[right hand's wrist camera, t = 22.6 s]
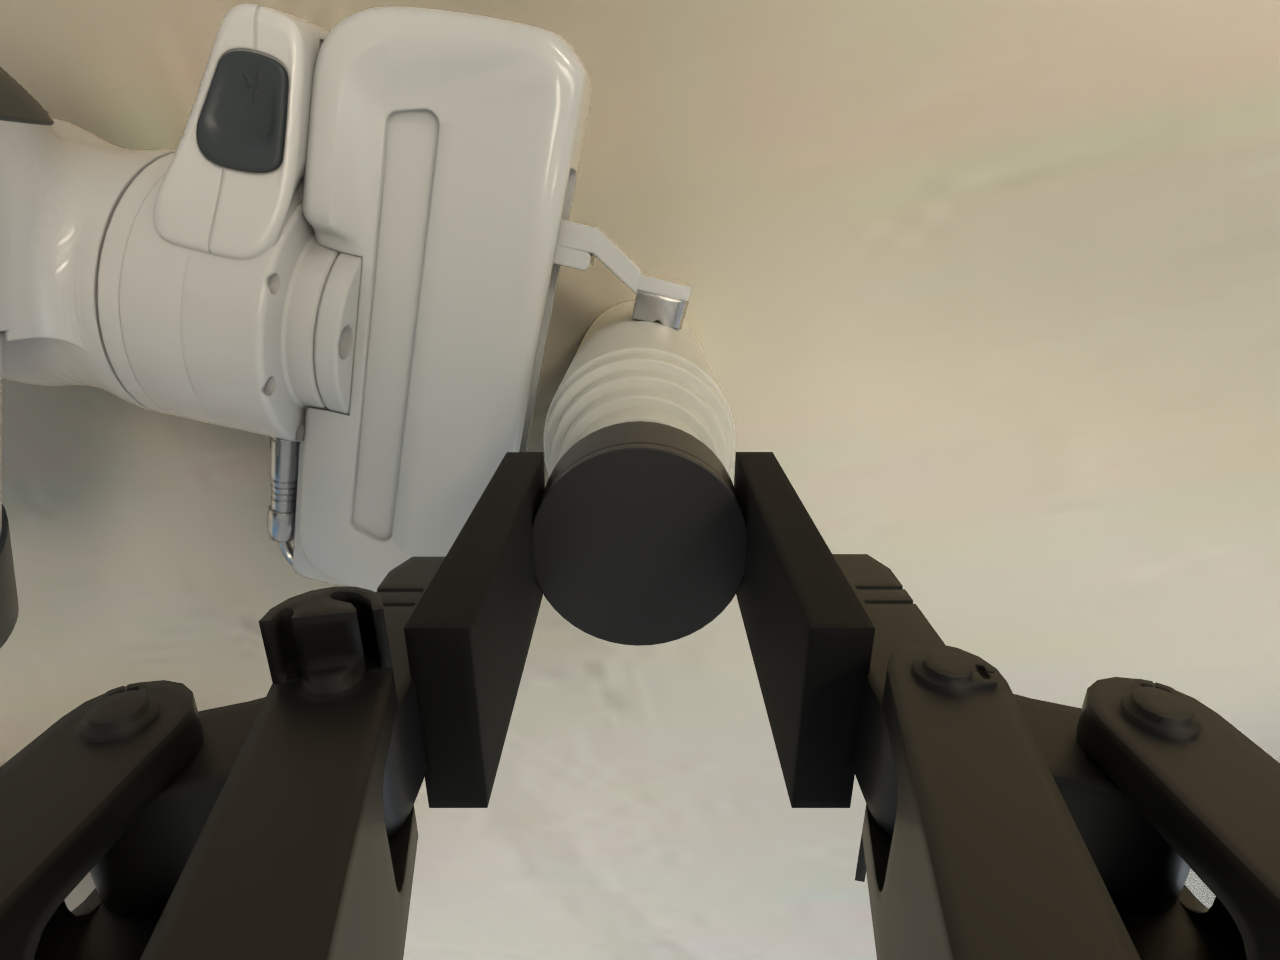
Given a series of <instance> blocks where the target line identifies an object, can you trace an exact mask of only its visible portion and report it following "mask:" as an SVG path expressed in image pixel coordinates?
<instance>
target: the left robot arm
mask: <svg viewBox="0 0 1280 960" xmlns="http://www.w3.org/2000/svg"><path fill="white" fill-rule="evenodd" d="M591 97H592V85H591V81H590V78H589V75H588V73H587V70H586V68H585V66H584V64H583V63H582V61H581V59H580V58H579V56H578V54H577V53H576V51H575V50H574V49H573V47H572V46H571V45H570V43H569V42H568V41H567V40H566V39H564V38H563V37H562V36H560V35H558V34H557V33H554V32H551V31H549V30H546V29H542V28H539V27H535V26H532V25H528V24H523V23H518V22H514V21H509V20H504V19H500V18H494V17H488V16H483V15H477V14H471V13H463V12H456V11H449V10H440V9H429V8H419V7H405V6H383V7H373V8H368V9H364V10H361V11H358V12H355V13H353V14H351V15H349V16H347V17H345V18H344V19H342V20H341V21H340V22H339V23H337V24H336V25H335V26H334V27H333V28H332V29H331V31H330V32H329V31H327V30H325V29H323V28H322V27H320V26H318V25H316V24H314V23H312V22H309V21H307V20H305V19H302V18H300V17H297V16H295V15H292V14H289V13H286V12H282V11H279V10H276V9H273V8H269V7H265V6H261V5H257V4H249V3H244V4H238V5H236V6H234V7H233V8H231V9H230V10H229V11H228V13H227V14H226V16H225V17H224V19H223V21H222V23H221V25H220V27H219V30H218V33H217V36H216V38H215V41H214V45H213V48H212V51H211V54H210V57H209V60H208V63H207V67H206V70H205V73H204V76H203V79H202V82H201V85H200V88H199V91H198V94H197V97H196V99H195V102H194V105H193V108H192V111H191V114H190V116H189V119H188V122H187V124H186V127H185V130H184V132H183V135H182V137H181V140H180V142H179V145H178V147H177V149H153V150H131V149H126V148H122V147H118V146H116V145H113V144H110V143H108V142H106V141H105V140H103V139H101V138H99V137H97V136H96V135H94V134H92V133H90V132H88V131H86V130H84V129H82V128H80V127H78V126H76V125H73V124H71V123H68V122H65V121H63V120H60V119H56V118H52V117H50V116H49V115H48V113H47V112H46V111H45V110H44V109H43V108H42V106H41V105H40V104H39V103H38V102H37V101H36V100H35V99H34V98H33V97H32V96H31V95H30V94H29V93H28V92H27V91H26V90H25V89H24V88H23V87H22V86H21V85H20V84H19V83H18V82H17V81H16V80H14V79H13V78H12V77H11V76H10V75H9V74H8V73H6V72H5V71H4V70H3V69H2V68H1V67H0V648H1V647H2V646H3V645H4V643H5V642H6V640H7V639H8V638H9V636H10V634H11V633H12V631H13V629H14V626H15V624H16V621H17V617H18V598H17V590H16V581H15V573H14V565H13V557H12V549H11V541H10V532H9V524H8V519H7V515H6V511H5V508H4V506H3V504H2V391H1V378H2V379H6V380H10V381H15V382H20V383H26V384H33V385H40V386H68V385H88V386H93V387H97V388H100V389H103V390H106V391H108V392H110V393H112V394H114V395H115V396H117V397H119V398H121V399H123V400H125V401H127V402H129V403H131V404H133V405H136V406H138V407H141V408H144V409H148V410H151V411H155V412H159V413H164V414H169V415H173V416H178V417H182V418H187V419H191V420H196V421H201V422H205V423H210V424H215V425H219V426H224V427H229V428H234V429H238V430H243V431H248V432H252V433H257V434H261V435H266V436H271V439H270V482H271V505H270V506H269V508H268V515H267V526H268V532H269V536H270V538H271V539H272V540H274V541H277V542H278V543H279V547H280V550H281V552H282V554H283V555H284V557H285V558H286V560H287V561H288V562H289V563H290V564H291V565H292V566H293V569H294V570H295V572H296V573H298V574H300V575H302V576H304V577H306V578H309V579H313V580H318V581H323V582H328V583H333V584H337V585H343V586H348V587H359V588H364V589H368V590H372V591H373V592H377V588H378V586H379V585H380V584H381V582H382V581H383V580H384V578H385V577H386V575H387V574H388V573H389V571H391V570H392V569H394V568H395V567H397V566H399V565H400V564H402V563H403V562H405V561H406V560H408V559H409V558H411V557H446V555H447V553H448V552H449V550H450V548H451V547H452V545H453V543H454V541H455V540H456V538H457V536H458V535H459V533H460V531H461V530H462V528H463V526H464V524H465V523H466V521H467V519H468V518H469V516H470V514H471V512H472V511H473V509H474V507H475V506H476V504H477V502H478V500H479V499H480V497H481V495H482V494H483V492H484V490H485V488H486V487H487V485H488V483H489V482H490V480H491V478H492V477H493V475H494V473H495V471H496V470H497V468H498V466H499V465H500V463H501V461H502V459H503V458H504V456H505V454H506V453H507V452H526V450H527V445H528V439H529V434H530V429H531V423H532V418H533V412H534V407H535V401H536V396H537V390H538V385H539V380H540V374H541V369H542V363H543V358H544V352H545V347H546V342H547V336H548V331H549V325H550V320H551V314H552V309H553V304H554V298H555V293H556V287H557V282H558V276H559V271H560V266H561V265H562V266H567V267H571V268H575V269H580V270H584V271H585V270H586V269H588V268H589V267H590V266H592V265H593V261H594V257H595V256H596V257H597V258H598V259H599V260H600V261H601V262H602V263H603V264H605V265H606V266H607V267H608V268H609V269H610V270H611V271H612V272H613V273H614V274H615V275H616V276H617V277H618V278H619V279H620V280H621V281H623V282H624V283H625V284H626V285H627V286H628V287H629V288H630V289H631V290H632V291H633V292H634V293H635V294H636V298H635V303H634V308H633V313H632V318H633V319H637V320H641V321H645V322H654V321H656V320H659V321H660V322H661V324H662V325H665V326H668V327H670V328H675V329H681V328H682V324H683V321H684V317H685V313H686V310H687V306H688V302H689V298H690V294H691V290H692V286H691V285H690V284H687V283H684V282H681V281H678V280H674V279H669V278H665V277H661V276H657V275H653V274H649V273H645V272H642V268H641V267H640V266H639V265H638V264H637V263H636V262H635V261H634V260H633V259H632V258H631V257H630V256H629V255H628V254H627V253H626V252H625V251H624V250H623V249H622V248H621V247H620V246H619V245H618V244H617V243H616V242H615V241H613V240H612V239H611V238H610V237H609V236H608V235H607V234H606V233H605V232H604V231H603V230H602V229H601V228H598V227H594V226H590V225H586V224H582V223H578V222H574V221H570V220H569V217H570V211H571V206H572V200H573V195H574V189H575V184H576V179H577V173H578V168H579V162H580V157H581V151H582V146H583V141H584V135H585V130H586V124H587V119H588V113H589V108H590V102H591ZM544 475H545V487H546V484H547V482H548V479H549V475H548V472H547V469H546V463H544ZM292 540H294V547H293V549H292V546H291V544H290V541H292Z"/></svg>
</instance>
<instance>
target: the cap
mask: <svg viewBox="0 0 1280 960" xmlns="http://www.w3.org/2000/svg"><path fill="white" fill-rule="evenodd" d="M532 536H533V552H534V568H535V577H536V580H537V582H538V585H539V587H540V589H541V590H542V592H543V594H544V595H545V597H546V599H547V600H548V601H549V603H550V604H551V605H552V606H553V608H554V609H555V610H556V611H557V612H558V613H559V614H560V615H561V616H562V617H563V618H564V619H566V620H567V621H568V622H570V623H571V624H572V625H574V626H575V627H577V628H579V629H580V630H582V631H584V632H585V633H588V634H590V635H592V636H594V637H597V638H599V639H603V640H606V641H609V642H614V643H619V644H625V645H654V644H660V643H666V642H670V641H673V640H677V639H680V638H682V637H685V636H687V635H690V634H692V633H694V632H695V631H697V630H699V629H701V628H703V627H704V626H705V625H707V624H708V623H710V622H711V621H712V620H714V619H715V618H716V617H717V616H718V615H719V614H720V613H721V612H722V611H723V610H724V609H725V608H726V607H727V605H728V604H729V603H730V602H731V600H732V599H733V597H734V596H735V594H736V593H737V591H738V589H739V587H740V585H741V583H742V581H743V578H744V571H745V555H746V539H747V524H746V520H745V517H744V514H743V511H742V508H741V505H740V503H739V500H738V497H737V494H736V492H735V489H734V486H733V483H732V481H731V479H730V476H729V474H728V472H727V470H726V469H725V467H724V465H723V464H722V462H721V461H720V459H719V458H718V457H717V456H716V455H715V454H714V452H713V451H712V450H711V449H709V448H708V447H707V446H706V445H705V444H704V443H703V442H701V441H700V440H698V439H697V438H695V437H694V436H693V435H691V434H689V433H687V432H685V431H683V430H681V429H678V428H675V427H672V426H669V425H665V424H661V423H656V422H645V421H635V422H624V423H618V424H614V425H610V426H607V427H604V428H601V429H599V430H597V431H595V432H592V433H590V434H589V435H587V436H585V437H584V438H582V439H581V440H579V441H578V442H577V443H576V444H574V445H573V446H572V447H571V448H570V449H569V450H568V451H567V452H566V453H565V454H564V455H563V456H562V457H561V458H560V460H559V461H558V463H557V464H556V466H555V467H554V469H553V471H552V473H551V475H550V477H549V479H548V482H547V484H546V487H545V490H544V493H543V495H542V498H541V501H540V504H539V506H538V509H537V512H536V515H535V518H534V521H533V524H532Z"/></svg>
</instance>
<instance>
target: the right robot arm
mask: <svg viewBox="0 0 1280 960" xmlns="http://www.w3.org/2000/svg"><path fill="white" fill-rule="evenodd" d="M734 489H735V492H736V494H737V497H738V500H739V503H740V505H741V508H742V511H743V514H744V517H745V520H746V524H747V539H746V555H745V571H744V578H743V581H742V583H741V585H740V587H739V589H738V591H737V593H736V595H737V599H738V603H739V607H740V611H741V614H742V618H743V622H744V626H745V630H746V634H747V637H748V641H749V645H750V649H751V653H752V657H753V660H754V664H755V668H756V672H757V676H758V680H759V683H760V687H761V691H762V695H763V699H764V703H765V706H766V710H767V714H768V718H769V722H770V726H771V729H772V733H773V737H774V741H775V745H776V749H777V753H778V756H779V760H780V764H781V768H782V772H783V776H784V779H785V783H786V787H787V791H788V795H789V799H790V802H791V806H792V808H850V804H851V797H852V790H853V782H854V775H856V778H857V780H858V783H859V785H860V788H861V791H862V793H863V796H864V798H865V801H866V803H867V804H866V810H865V817H864V823H863V830H862V837H861V843H860V850H859V856H858V863H857V870H856V877H855V880H857V881H863V882H864V881H865V875H866V872H867V880H868V888H869V896H870V904H871V912H872V921H873V929H874V937H875V945H876V953H877V960H1280V763H1278V762H1277V761H1276V760H1275V759H1273V758H1272V757H1271V756H1270V755H1269V754H1267V753H1266V752H1265V751H1264V750H1262V749H1261V748H1260V747H1259V746H1257V745H1256V744H1255V743H1254V742H1252V741H1251V740H1250V739H1249V738H1247V737H1246V736H1245V735H1244V734H1242V733H1241V732H1240V731H1239V730H1237V729H1236V728H1235V727H1234V726H1232V725H1231V724H1230V723H1229V722H1228V721H1226V720H1225V719H1224V718H1223V717H1221V716H1220V715H1219V714H1217V713H1216V712H1214V711H1213V710H1211V709H1210V708H1208V707H1207V706H1205V705H1204V704H1202V703H1201V702H1199V701H1197V700H1196V699H1194V698H1192V697H1190V696H1187V695H1185V694H1183V693H1181V692H1178V691H1176V690H1174V689H1173V688H1171V687H1169V686H1166V685H1163V684H1159V683H1153V682H1152V681H1147V680H1142V679H1131V678H1120V677H1113V678H1108V679H1102V680H1097V681H1096V682H1095V683H1094V684H1092V685H1091V686H1090V687H1089V688H1088V689H1087V692H1086V696H1085V699H1084V703H1083V706H1082V709H1081V708H1076V707H1071V706H1066V705H1061V704H1056V703H1051V702H1046V701H1041V700H1036V699H1031V698H1027V697H1023V696H1019V695H1015V694H1013V693H1012V691H1011V689H1010V687H1009V685H1008V683H1007V681H1006V680H1005V679H1004V678H1003V676H1002V675H1001V674H1000V673H999V671H998V670H997V669H996V668H995V667H993V666H992V665H990V664H989V663H987V662H986V661H984V660H983V659H981V658H980V657H978V656H976V655H973V654H971V653H968V652H966V651H963V650H961V649H959V648H955V647H950V646H946V645H945V644H944V642H943V641H942V640H941V638H940V637H939V636H938V634H937V633H936V631H935V630H934V629H933V627H932V626H931V625H930V623H929V622H928V620H927V619H926V618H925V616H924V615H923V614H922V612H921V611H920V610H919V608H918V607H917V605H916V604H913V600H912V599H911V597H910V596H909V594H908V593H907V592H906V590H903V588H902V585H901V583H900V582H899V581H898V579H897V578H896V577H895V575H894V574H893V572H892V571H891V570H890V569H889V568H888V567H886V566H884V565H883V564H881V563H880V562H878V561H877V560H875V559H873V558H872V557H870V556H869V555H867V554H832V553H831V552H830V550H829V548H828V546H827V545H826V543H825V541H824V540H823V538H822V536H821V534H820V533H819V531H818V529H817V528H816V526H815V524H814V522H813V521H812V519H811V517H810V516H809V514H808V512H807V510H806V509H805V507H804V505H803V504H802V502H801V500H800V499H799V497H798V495H797V493H796V492H795V490H794V488H793V487H792V485H791V483H790V481H789V480H788V478H787V476H786V475H785V473H784V471H783V469H782V468H781V466H780V464H779V463H778V461H777V459H776V457H775V456H774V454H773V452H736V459H735V479H734ZM544 490H545V475H544V456H543V452H507V453H506V454H505V456H504V458H503V459H502V461H501V463H500V465H499V466H498V468H497V470H496V471H495V473H494V475H493V477H492V478H491V480H490V482H489V483H488V485H487V487H486V488H485V490H484V492H483V494H482V495H481V497H480V499H479V500H478V502H477V504H476V506H475V507H474V509H473V511H472V512H471V514H470V516H469V518H468V519H467V521H466V523H465V524H464V526H463V528H462V530H461V531H460V533H459V535H458V536H457V538H456V540H455V541H454V543H453V545H452V547H451V548H450V550H449V552H448V553H447V555H446V557H411V558H409V559H408V560H406V561H405V562H403V563H402V564H400V565H399V566H397V567H395V568H394V569H392V570H391V571H389V573H388V574H387V575H386V577H385V578H384V580H383V581H382V582H381V584H380V585H379V586H378V588H377V592H373V591H372V590H368V589H364V588H359V587H330V588H324V589H319V590H313V591H309V592H307V593H304V594H301V595H298V596H295V597H292V598H289V599H287V600H286V601H284V602H282V603H281V604H279V605H277V606H275V607H274V608H272V609H270V610H269V611H268V612H267V613H266V615H265V616H264V617H263V618H262V619H261V620H260V621H259V625H260V629H261V633H262V638H263V642H264V646H265V651H266V655H267V660H268V664H269V668H270V673H271V677H272V681H273V684H272V686H271V688H270V690H269V692H268V694H267V696H266V697H264V698H260V699H257V700H253V701H249V702H244V703H239V704H234V705H229V706H224V707H219V708H214V709H209V710H204V711H199V712H198V710H197V707H196V703H195V699H194V696H193V692H192V691H191V690H189V689H188V688H187V687H186V686H185V685H184V684H182V683H176V682H171V681H165V680H163V681H152V682H139V683H134V684H129V685H127V686H126V687H124V686H122V687H119V688H115V689H112V690H110V691H108V692H106V693H105V694H102V695H100V696H98V697H96V698H93V699H91V700H89V701H87V702H85V703H83V704H82V705H80V706H79V707H77V708H76V709H74V710H72V711H71V712H69V713H68V714H66V715H65V716H63V717H62V718H61V719H59V720H58V721H57V722H56V723H54V724H53V725H52V726H51V727H50V728H48V729H47V730H46V731H45V732H43V733H42V734H41V735H40V736H38V737H37V738H36V739H35V740H34V741H32V742H31V743H30V744H29V745H27V746H26V747H25V748H24V749H22V750H21V751H20V752H19V753H17V754H16V755H15V756H14V757H13V758H11V759H10V760H9V761H8V762H6V763H5V764H4V765H3V766H1V767H0V960H403V955H404V947H405V939H406V930H407V922H408V914H409V906H410V898H411V889H412V881H413V873H414V865H415V857H416V849H417V840H418V831H417V824H416V817H415V810H414V802H415V800H416V797H417V794H418V792H419V789H420V787H421V784H422V782H423V779H424V776H425V781H426V788H427V795H428V802H429V808H487V807H488V803H489V799H490V795H491V792H492V788H493V784H494V780H495V776H496V772H497V769H498V765H499V761H500V757H501V753H502V749H503V746H504V742H505V738H506V734H507V730H508V726H509V723H510V719H511V715H512V711H513V707H514V703H515V700H516V696H517V692H518V688H519V684H520V680H521V677H522V673H523V669H524V665H525V661H526V657H527V654H528V650H529V646H530V642H531V638H532V634H533V630H534V627H535V623H536V619H537V615H538V611H539V607H540V604H541V600H542V596H543V592H542V590H541V589H540V587H539V585H538V582H537V580H536V577H535V568H534V552H533V536H532V524H533V521H534V518H535V515H536V512H537V509H538V506H539V504H540V501H541V498H542V495H543V493H544ZM1190 868H1191V869H1192V870H1193V871H1194V872H1195V873H1196V874H1197V875H1198V877H1199V878H1200V879H1201V880H1202V881H1203V882H1204V883H1205V884H1206V885H1207V887H1208V888H1209V889H1210V890H1211V891H1212V892H1213V893H1214V894H1215V895H1216V898H1215V900H1214V903H1213V905H1212V907H1211V908H1210V909H1209V908H1207V907H1205V906H1204V905H1203V904H1202V903H1201V902H1200V901H1199V900H1198V899H1197V898H1196V897H1195V896H1194V895H1193V894H1192V893H1191V892H1190V890H1189V889H1188V888H1187V887H1186V886H1185V885H1184V884H1185V881H1186V879H1187V876H1188V874H1189V871H1190ZM89 872H90V874H91V877H92V879H93V882H94V884H95V887H96V888H95V889H94V890H93V891H92V892H91V893H90V895H89V896H88V897H87V898H86V899H85V900H84V901H83V902H82V903H81V904H80V905H79V906H77V907H76V908H75V909H74V910H73V911H70V910H69V909H68V908H67V906H66V903H65V901H64V900H65V899H66V897H67V896H68V895H69V894H70V893H71V892H72V891H73V890H74V888H75V887H76V886H77V885H78V884H79V883H80V882H81V881H82V880H83V878H84V877H85V876H86V875H87V874H88V873H89Z"/></svg>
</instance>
